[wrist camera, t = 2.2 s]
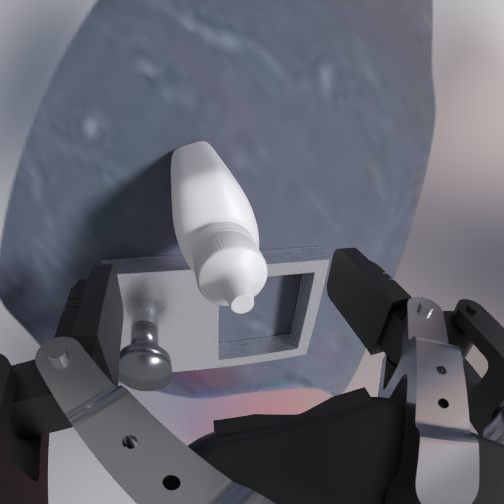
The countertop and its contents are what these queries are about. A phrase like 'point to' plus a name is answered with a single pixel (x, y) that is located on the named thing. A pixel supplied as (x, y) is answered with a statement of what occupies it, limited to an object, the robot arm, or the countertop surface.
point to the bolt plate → (202, 317)
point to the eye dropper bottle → (216, 228)
